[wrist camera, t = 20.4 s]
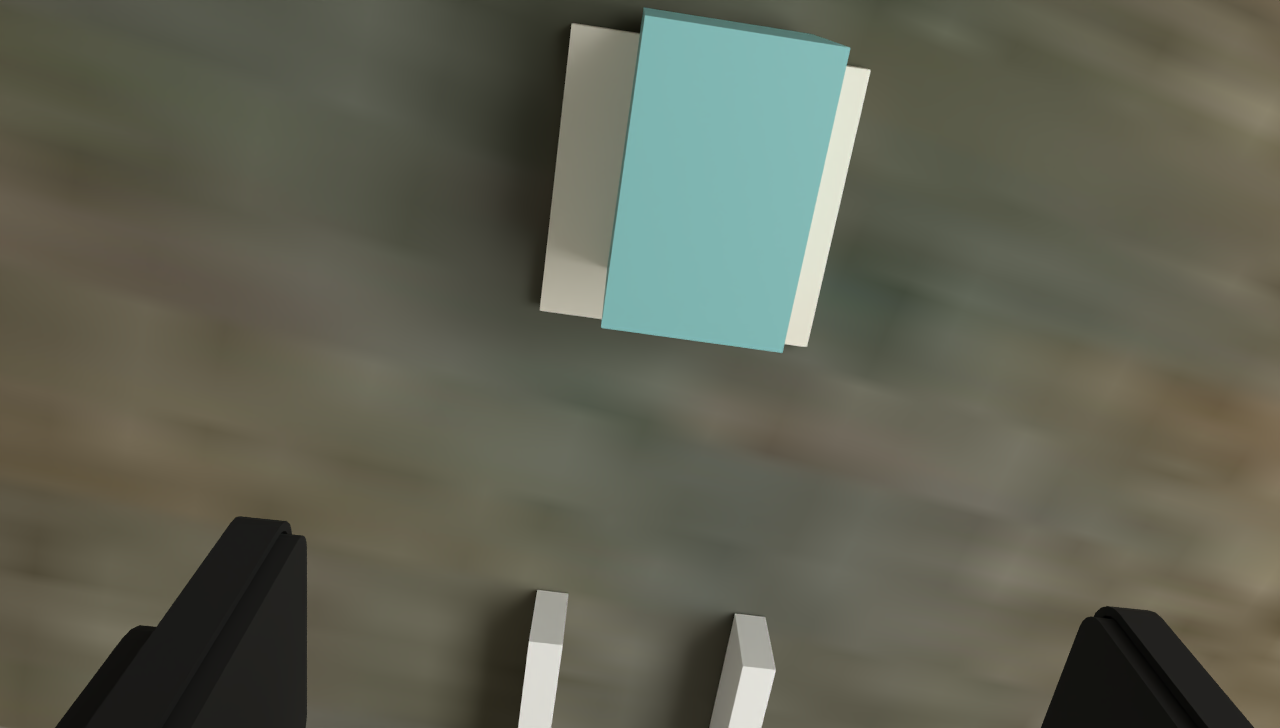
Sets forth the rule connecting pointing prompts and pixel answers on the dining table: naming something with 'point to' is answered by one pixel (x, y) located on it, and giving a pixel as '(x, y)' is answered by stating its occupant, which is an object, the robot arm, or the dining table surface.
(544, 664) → the channel
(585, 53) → the tile
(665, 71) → the teal block
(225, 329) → the dining table surface
